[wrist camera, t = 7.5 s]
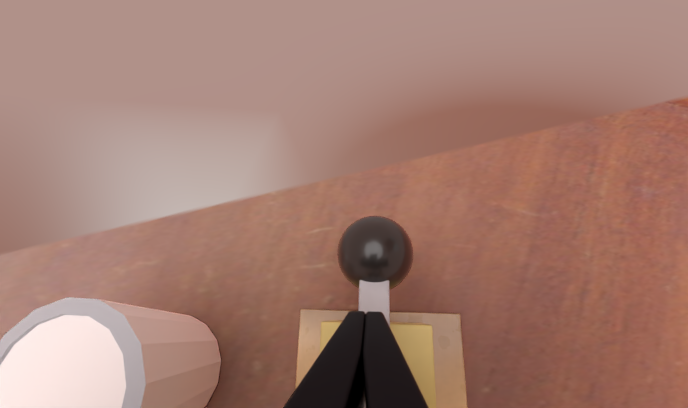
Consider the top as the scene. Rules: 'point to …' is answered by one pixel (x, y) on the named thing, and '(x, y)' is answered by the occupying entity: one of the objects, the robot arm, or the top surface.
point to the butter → (405, 352)
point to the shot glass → (107, 358)
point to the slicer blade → (375, 260)
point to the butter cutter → (443, 324)
